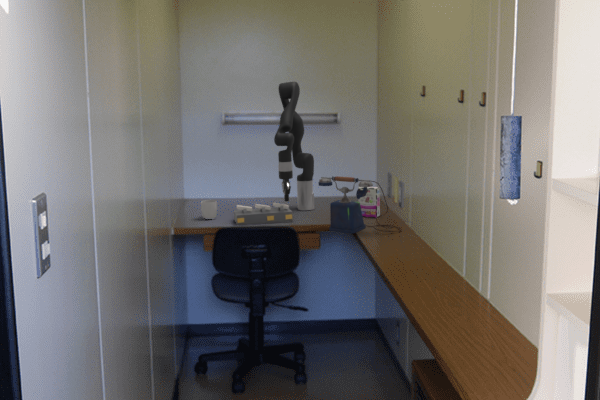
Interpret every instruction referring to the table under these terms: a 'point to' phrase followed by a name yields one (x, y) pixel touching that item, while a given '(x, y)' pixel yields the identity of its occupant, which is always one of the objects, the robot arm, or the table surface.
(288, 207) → the plate
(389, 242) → the table surface
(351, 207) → the rotary telephone
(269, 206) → the rocker middle
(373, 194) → the candy bar box
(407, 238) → the table surface
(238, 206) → the rocker
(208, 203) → the mug
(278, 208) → the switch unit
